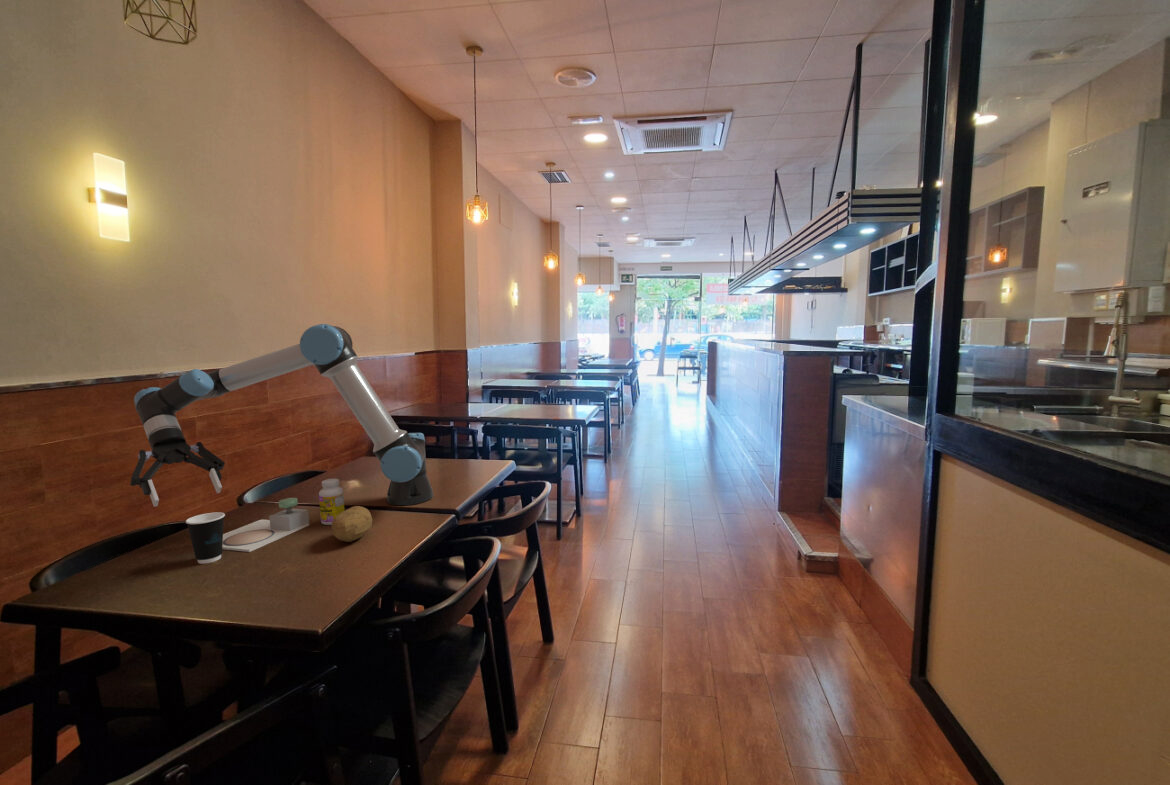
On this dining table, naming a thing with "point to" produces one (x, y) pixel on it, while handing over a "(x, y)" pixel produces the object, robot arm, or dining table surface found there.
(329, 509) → the supplement bottle
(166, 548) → the dining table surface
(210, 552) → the dixie cup
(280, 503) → the button
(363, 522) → the potato
